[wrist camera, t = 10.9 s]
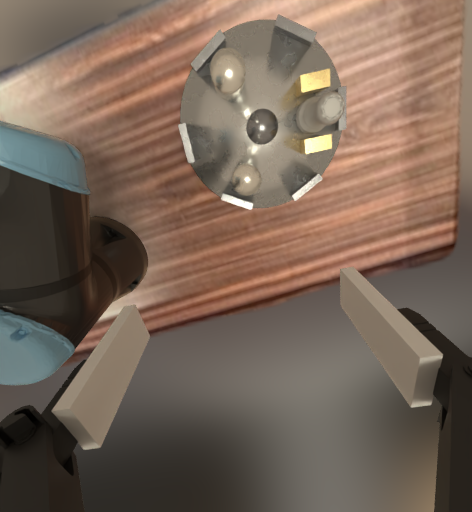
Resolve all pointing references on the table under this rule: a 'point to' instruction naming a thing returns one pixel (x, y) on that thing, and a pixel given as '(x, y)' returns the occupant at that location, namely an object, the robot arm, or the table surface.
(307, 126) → the rook chess piece
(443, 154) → the table surface
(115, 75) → the table surface
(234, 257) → the table surface
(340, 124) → the carrier plate
